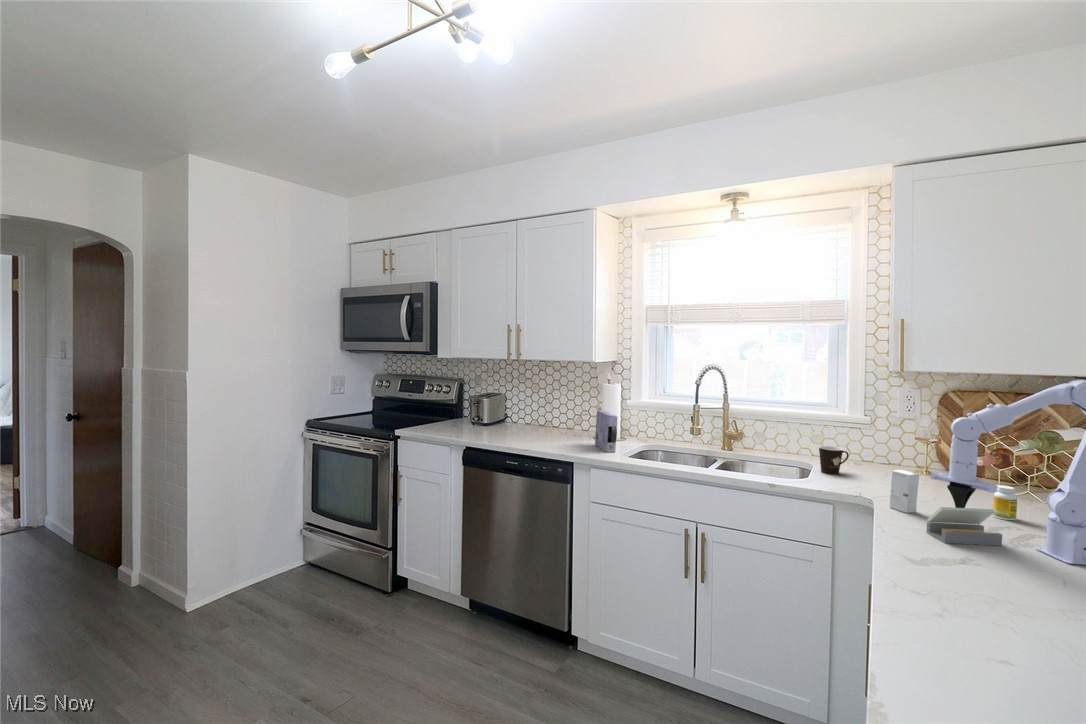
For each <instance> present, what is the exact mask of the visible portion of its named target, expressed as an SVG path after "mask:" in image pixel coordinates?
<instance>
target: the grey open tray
mask: <svg viewBox="0 0 1086 724" xmlns="http://www.w3.org/2000/svg"><path fill="white" fill-rule="evenodd" d="M942 529H963V530H981V531H983V532H967V531H946V530H942ZM941 532H942V534H941ZM927 533H928V535H929V534H930V535H929V536H932V538H934V539H936V538H937V540H938V539H939V540H938V541H940V540H941V542H942V541H943V542H942V543H944V544H951V543H964V544H963V545H972V544H980V545H979V546H992V545H998V546H997V547H1001V546H1002V545H1003V544H1002V543H1003V534H1002V533H1000V532H989V531H988V532H986V531H985V525H983V524H961V523H939V522H928V521H927V522H926V534H927ZM1002 547H1003V546H1002Z"/></svg>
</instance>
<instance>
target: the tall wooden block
mask: <svg viewBox="0 0 1086 724" xmlns="http://www.w3.org/2000/svg"><path fill="white" fill-rule="evenodd" d="M942 530H946V531H967V532H983V531H981V530H963V529H942ZM941 534H942V532H941Z"/></svg>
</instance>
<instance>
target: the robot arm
mask: <svg viewBox="0 0 1086 724" xmlns="http://www.w3.org/2000/svg"><path fill="white" fill-rule="evenodd" d="M1051 405H1071V406H1072V405H1074V406H1076V407H1078V409H1080V410H1081V411H1082V413H1083V414H1084V415H1085V416H1086V379H1074V380H1071V381H1069V382H1067V383H1061V384H1058V385H1054V386H1052V387H1048V388H1046V389H1043V390H1042V391H1039V392H1036V393H1034V394H1032V395H1030V396H1027V397H1025V398H1023V399H1020V400H1017V401H1015V402H1013V403H1011V404H1008V405H1004V404H1001V403H996V404H993V403H989V404H987V405H986V407H985V408H983V409H982V410H978V411H976V412H974V413H972V412H968V413H966V416H967V417H964V416H961V417H957V418H955V419H954V420H953V422H952V423H951V425H950V430H951V432H952V437H951V443H950V452H949V453H950V455H949V469H948V470H949V471H948V473H945V472H940V471H930V477H929V478H930V480H937V481H941V482H947V483H949V484H948V485H946V486H947V487H946V488H947V490H948V491H949V493H950V495H951V497H952V499H953V503H954V508H966V506H967V503H968V501H969V500H970V498H971V496H972V495H973V494H974V493H975V492H976V490H979V491H985V492H987V493H991V494H993V493H994V494H995V493H996V492H997V486H998V485H997V484H994V483H990V482H987V481H983V480H981V479H977V470H978V469H977V468H978V454H979V453H978V452H979V446H978V440H979V438H980V436H981V435H982V434H988V433H990V432H993V431H996V430H998V429H1001V428H1004V427H1007V426H1009V425H1012V424H1013V423H1014V421H1015V418H1016V417H1018V416H1021V415H1024V414H1027V413H1031V412H1034V411H1036V410H1039V409H1042V408H1044V407H1047V406H1051ZM1073 456H1074V457H1073V458H1072V461H1071V464H1070V465H1069V468H1068V470H1067V471H1066V475H1065V477H1064V478H1063V480H1062V481H1060V483H1059V484H1058V485H1057V488H1056V489H1055V490H1054V491H1052V492H1050V493H1049V494H1048V496H1047V498H1046V504H1047V506H1048V507H1049V509H1051V511H1050V512H1049V514H1047V518H1046V520H1047V521H1046V539H1045V546H1044V547H1042V546H1041V547H1040V546H1036V547H1035V550H1037V551H1039V552H1041V553H1043V554H1046V555H1048V556H1051V557H1052V558H1055V559H1057V560H1060V561H1062V562H1064V563H1066V564H1068V565H1085V566H1086V430H1085V431H1084V434H1083V435H1082V439H1081V441H1080V443H1079V445H1078V447H1077V449H1076V452H1075V454H1074V455H1073Z"/></svg>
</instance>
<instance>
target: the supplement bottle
mask: <svg viewBox="0 0 1086 724" xmlns="http://www.w3.org/2000/svg"><path fill="white" fill-rule="evenodd" d="M1015 492H1016V489H1015V487H1012V486H1008V485H1003V484H1002V485H1001V484H999V485H997V486H996V492H994V494H993V508H992V509H994V511H995V513H993V514H992V516H993V517H994V518H996V519H998V518H999V520H1002V519H1003V520H1004V521H1008V520H1014V521H1016V520H1017V510H1018V509H1017V508H1018V507H1017V506H1018V496H1017V495H1016V494H1015Z"/></svg>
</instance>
